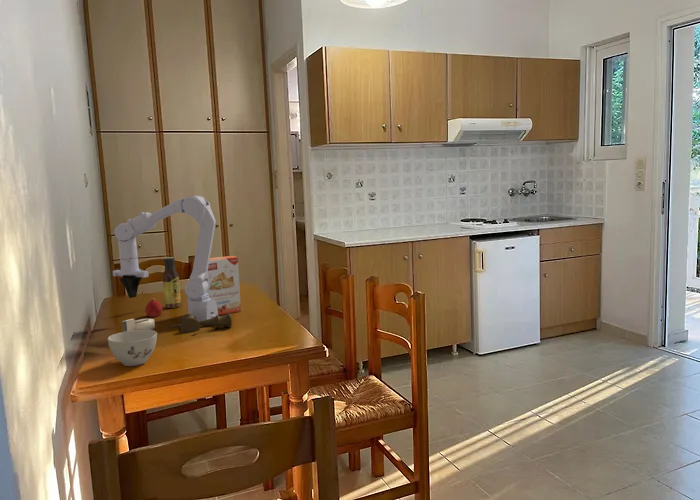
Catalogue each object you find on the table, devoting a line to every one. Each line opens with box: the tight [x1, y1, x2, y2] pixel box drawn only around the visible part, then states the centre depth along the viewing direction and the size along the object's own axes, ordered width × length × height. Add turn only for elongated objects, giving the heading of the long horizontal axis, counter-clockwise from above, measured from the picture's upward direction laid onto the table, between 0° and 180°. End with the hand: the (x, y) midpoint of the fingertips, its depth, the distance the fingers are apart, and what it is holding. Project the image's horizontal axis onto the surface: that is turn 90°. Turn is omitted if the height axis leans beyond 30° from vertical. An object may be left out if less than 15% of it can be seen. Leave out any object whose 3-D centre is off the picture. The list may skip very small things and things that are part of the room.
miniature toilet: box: [121, 318, 156, 332], centre depth 180 cm, size 10×7×4 cm
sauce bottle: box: [162, 256, 182, 309], centre depth 218 cm, size 6×6×20 cm
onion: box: [145, 297, 163, 318], centre depth 199 cm, size 6×6×8 cm
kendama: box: [168, 313, 233, 337], centre depth 180 cm, size 6×10×20 cm
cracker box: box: [207, 255, 242, 316], centre depth 203 cm, size 14×6×21 cm, turn 126°
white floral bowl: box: [107, 329, 158, 367], centre depth 151 cm, size 15×12×8 cm
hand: (132, 297), depth 189 cm, fingers closed
